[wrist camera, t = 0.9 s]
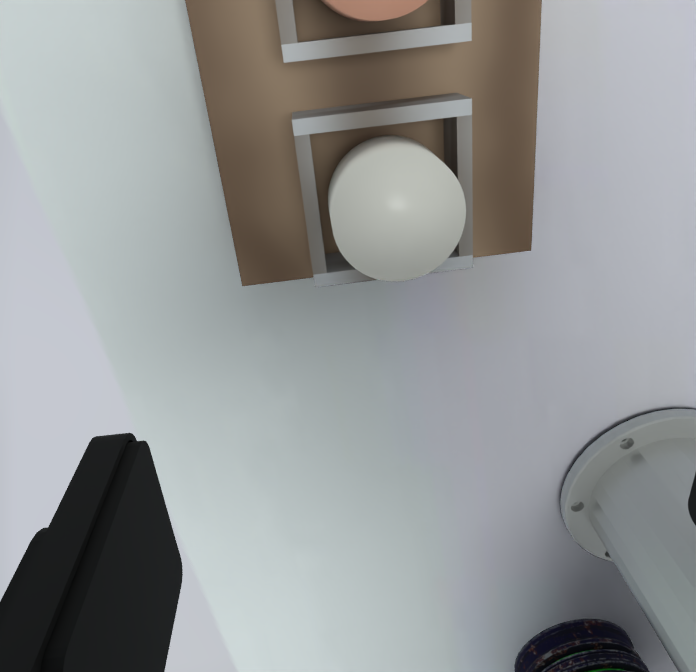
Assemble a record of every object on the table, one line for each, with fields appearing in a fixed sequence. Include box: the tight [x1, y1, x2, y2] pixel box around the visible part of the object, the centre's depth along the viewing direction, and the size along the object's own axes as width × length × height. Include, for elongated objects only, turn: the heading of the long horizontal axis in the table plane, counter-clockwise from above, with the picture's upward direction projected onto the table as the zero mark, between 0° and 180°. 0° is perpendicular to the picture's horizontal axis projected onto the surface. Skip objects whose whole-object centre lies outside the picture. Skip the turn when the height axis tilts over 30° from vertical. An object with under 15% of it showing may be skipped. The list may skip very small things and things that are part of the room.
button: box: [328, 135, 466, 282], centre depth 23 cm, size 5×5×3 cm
